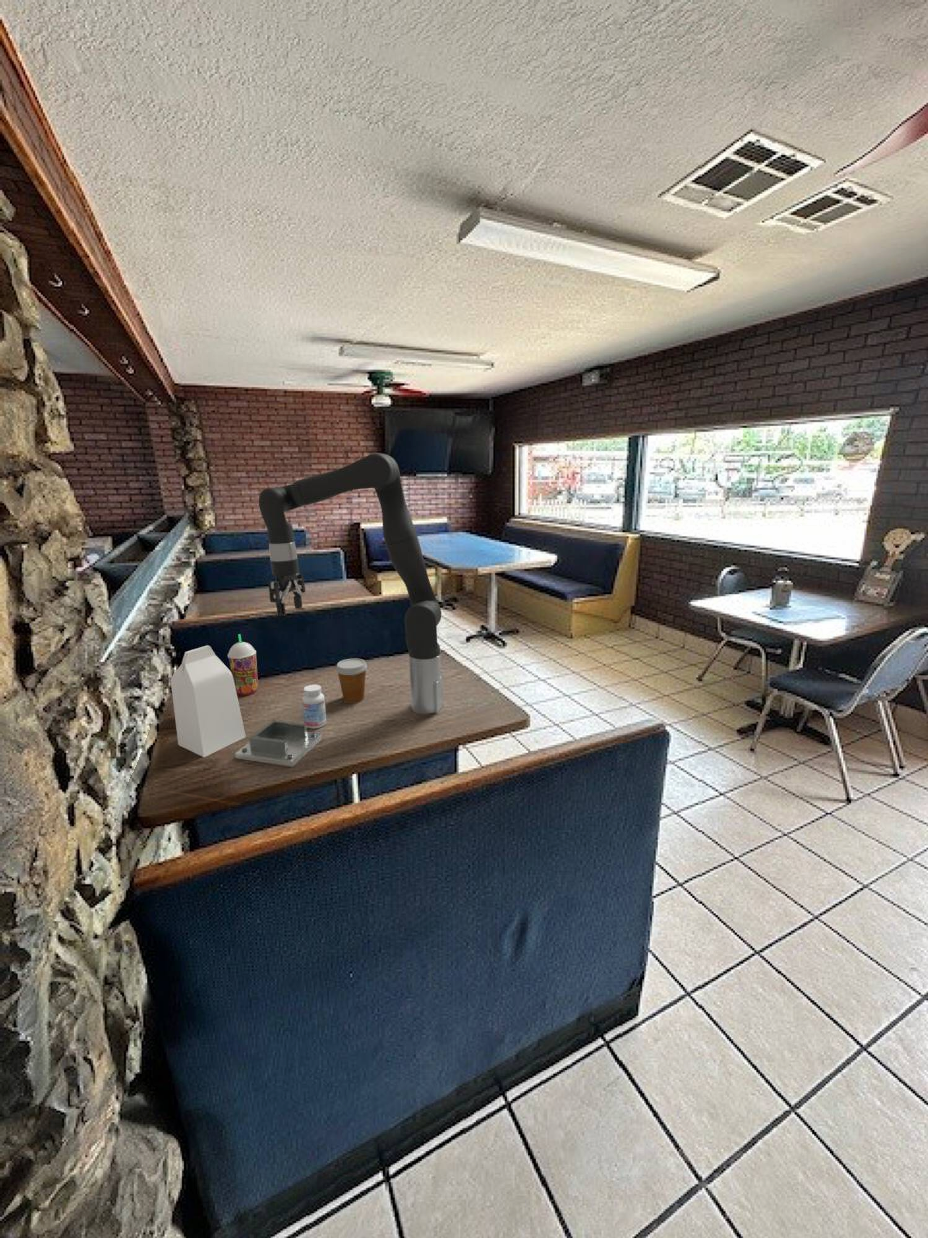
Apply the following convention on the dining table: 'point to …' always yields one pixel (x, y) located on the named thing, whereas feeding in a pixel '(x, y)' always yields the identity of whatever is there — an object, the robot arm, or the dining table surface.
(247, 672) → the smoothie
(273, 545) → the robot arm
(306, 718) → the pill bottle
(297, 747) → the mounting bracket
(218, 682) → the milk
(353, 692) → the disposable coffee cup
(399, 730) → the dining table surface
